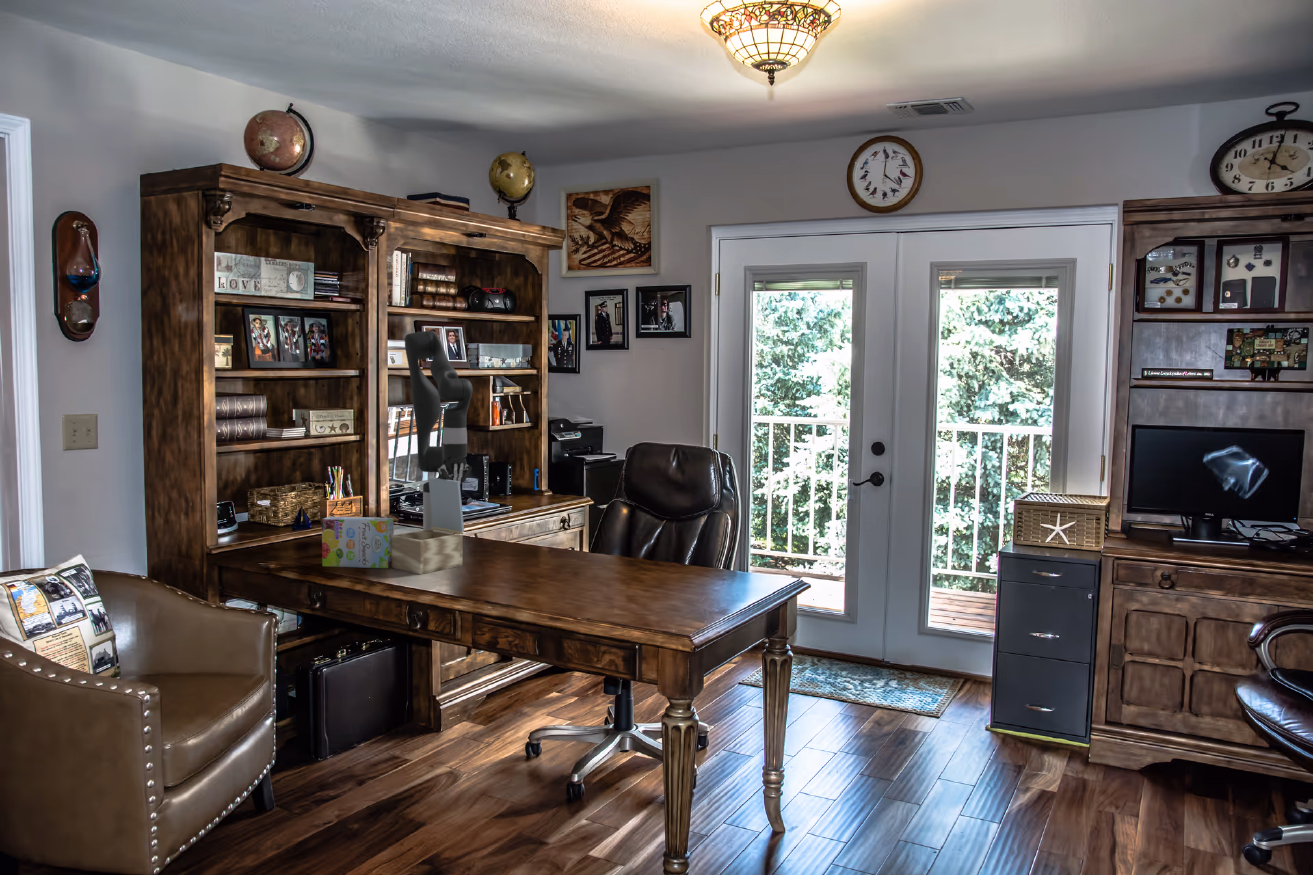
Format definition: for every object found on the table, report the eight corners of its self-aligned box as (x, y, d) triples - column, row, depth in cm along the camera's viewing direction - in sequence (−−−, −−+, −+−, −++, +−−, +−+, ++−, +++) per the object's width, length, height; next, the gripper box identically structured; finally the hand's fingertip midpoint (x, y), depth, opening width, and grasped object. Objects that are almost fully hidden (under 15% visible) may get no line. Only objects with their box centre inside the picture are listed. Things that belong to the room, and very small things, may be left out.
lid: (432, 529, 299) (435, 528, 300) (461, 534, 290) (464, 533, 291) (427, 478, 296) (430, 477, 297) (456, 482, 287) (459, 481, 288)
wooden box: (433, 559, 300) (433, 528, 299) (462, 565, 291) (462, 534, 290) (391, 567, 287) (391, 535, 286) (420, 574, 279) (420, 541, 278)
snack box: (394, 565, 291) (394, 517, 290) (387, 569, 286) (387, 520, 284) (329, 563, 293) (328, 515, 292) (321, 566, 288) (320, 518, 286)
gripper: (463, 440, 302) (462, 493, 303) (430, 442, 292) (430, 497, 293) (479, 441, 298) (478, 496, 299) (446, 443, 287) (445, 499, 288)
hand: (454, 496), depth 296 cm, fingers closed
